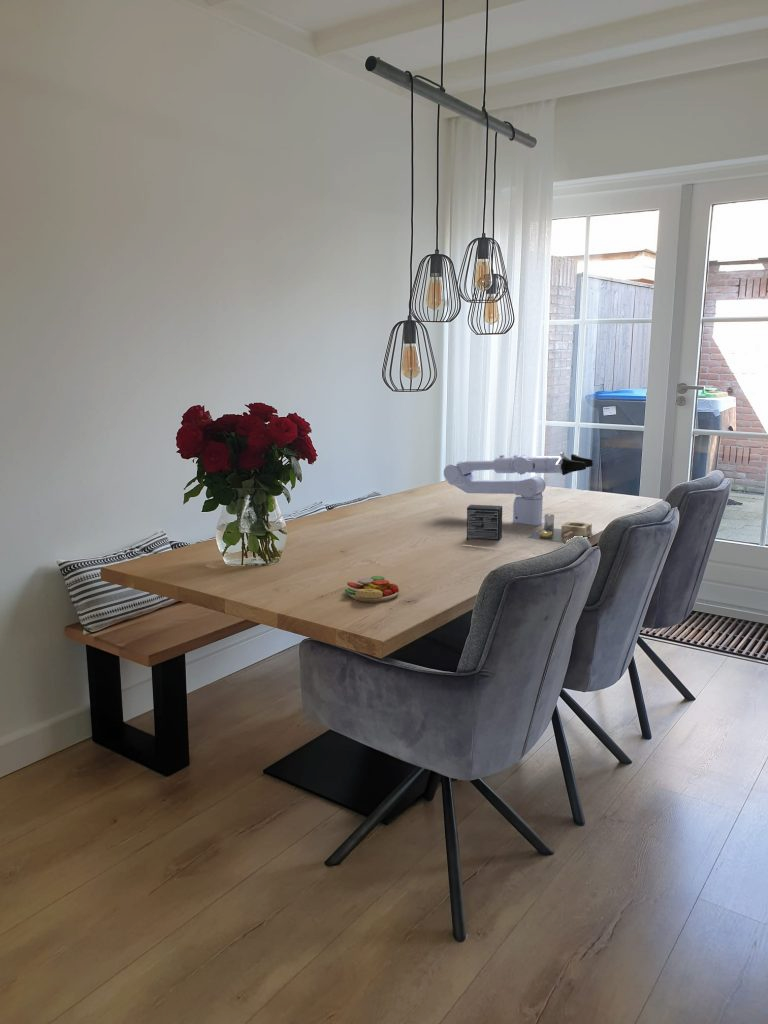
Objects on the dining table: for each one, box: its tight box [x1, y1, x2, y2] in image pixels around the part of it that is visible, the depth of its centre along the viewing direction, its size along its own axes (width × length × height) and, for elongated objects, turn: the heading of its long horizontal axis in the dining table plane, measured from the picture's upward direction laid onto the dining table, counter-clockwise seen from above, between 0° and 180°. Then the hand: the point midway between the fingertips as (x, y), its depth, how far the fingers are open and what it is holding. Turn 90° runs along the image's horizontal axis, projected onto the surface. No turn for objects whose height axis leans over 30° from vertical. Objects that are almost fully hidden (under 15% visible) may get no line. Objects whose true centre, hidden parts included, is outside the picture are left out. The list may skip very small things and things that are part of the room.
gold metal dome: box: [538, 530, 552, 539], centre depth 258 cm, size 4×4×2 cm
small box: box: [466, 504, 503, 541], centre depth 258 cm, size 11×6×10 cm, turn 74°
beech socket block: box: [560, 520, 593, 537], centre depth 263 cm, size 8×8×3 cm
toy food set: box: [344, 575, 400, 603], centre depth 201 cm, size 13×13×3 cm
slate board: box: [526, 527, 574, 543], centre depth 261 cm, size 15×17×1 cm
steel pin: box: [543, 513, 555, 534], centre depth 263 cm, size 3×3×6 cm
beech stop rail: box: [562, 531, 573, 543], centre depth 254 cm, size 1×6×2 cm, turn 150°
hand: (589, 464), depth 267 cm, fingers open, 7 cm apart
